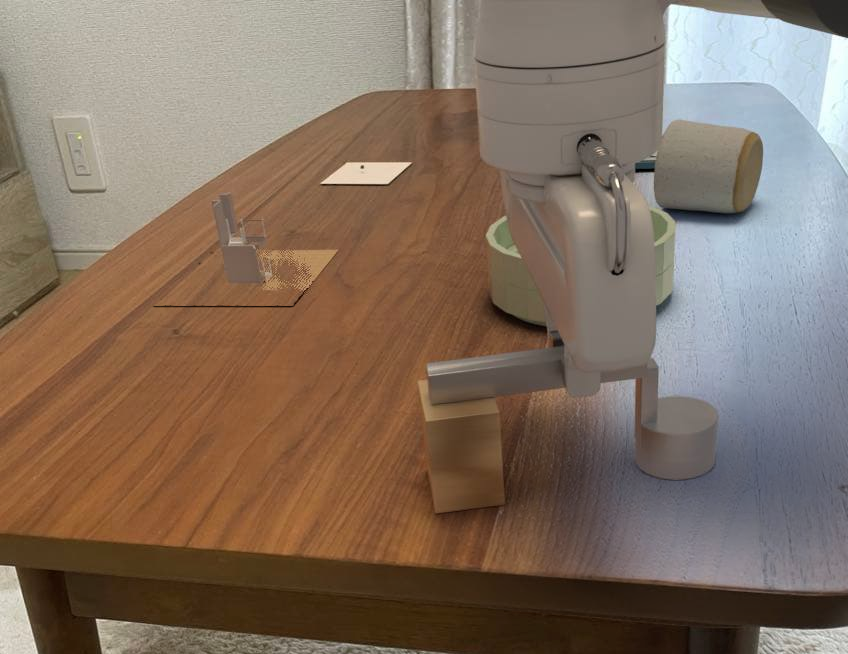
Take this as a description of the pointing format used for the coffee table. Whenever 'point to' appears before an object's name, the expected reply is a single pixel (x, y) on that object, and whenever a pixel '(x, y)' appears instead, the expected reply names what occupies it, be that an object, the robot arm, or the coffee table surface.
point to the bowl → (518, 289)
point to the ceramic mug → (707, 167)
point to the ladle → (542, 370)
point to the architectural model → (244, 257)
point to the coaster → (367, 173)
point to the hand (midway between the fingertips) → (573, 375)
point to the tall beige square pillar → (462, 452)
